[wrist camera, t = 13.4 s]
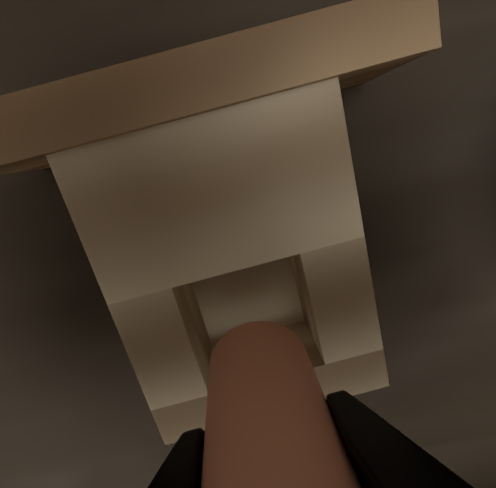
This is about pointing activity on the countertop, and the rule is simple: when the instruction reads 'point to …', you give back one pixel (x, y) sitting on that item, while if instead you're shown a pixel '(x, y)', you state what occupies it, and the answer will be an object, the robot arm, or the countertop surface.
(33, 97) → the wall
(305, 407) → the dowel
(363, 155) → the countertop surface
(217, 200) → the block
